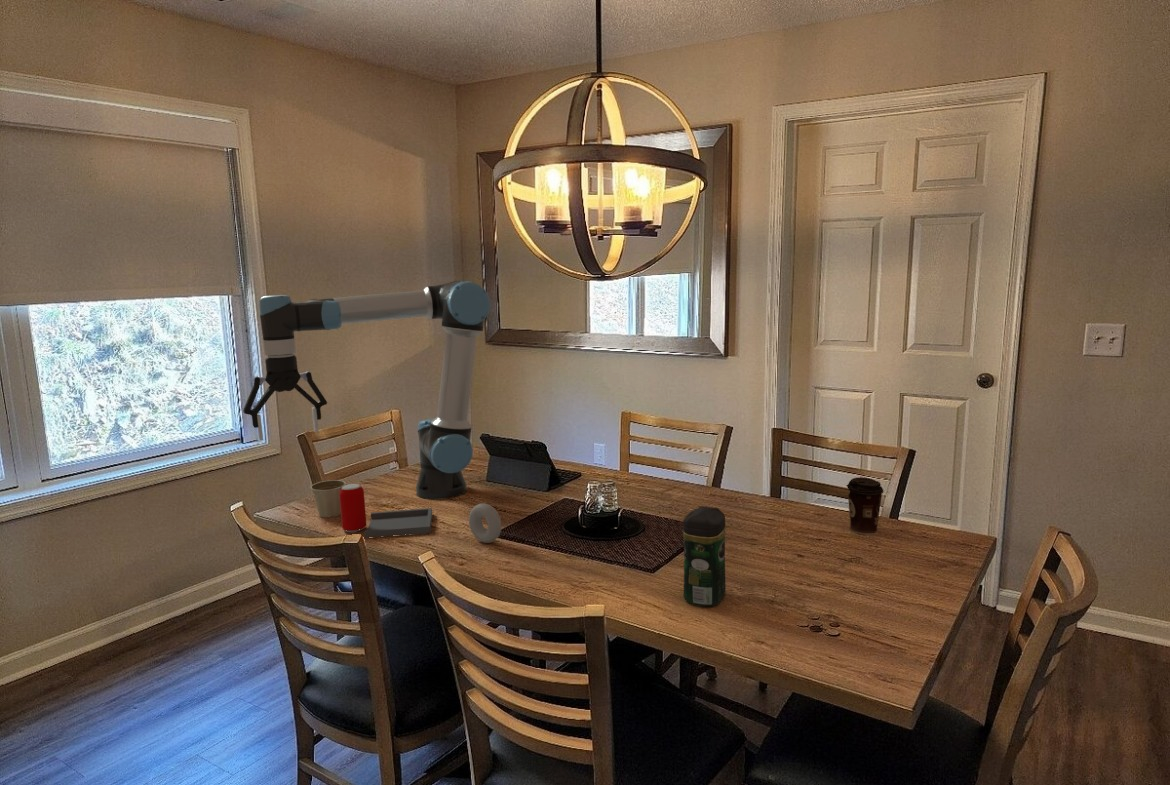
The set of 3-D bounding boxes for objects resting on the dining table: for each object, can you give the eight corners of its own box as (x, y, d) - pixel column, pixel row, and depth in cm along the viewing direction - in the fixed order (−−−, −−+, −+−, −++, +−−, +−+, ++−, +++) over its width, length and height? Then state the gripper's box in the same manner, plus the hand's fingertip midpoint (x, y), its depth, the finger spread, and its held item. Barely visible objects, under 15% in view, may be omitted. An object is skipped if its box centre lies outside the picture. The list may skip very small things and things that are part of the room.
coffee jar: (692, 584, 154) (692, 501, 151) (729, 591, 151) (730, 505, 148) (678, 604, 146) (677, 516, 142) (716, 611, 142) (717, 521, 139)
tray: (432, 514, 203) (432, 507, 202) (430, 533, 188) (429, 526, 188) (371, 519, 200) (371, 512, 200) (364, 538, 186) (364, 531, 185)
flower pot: (341, 519, 200) (338, 489, 199) (307, 520, 201) (305, 490, 199) (352, 508, 210) (350, 479, 208) (320, 509, 210) (318, 480, 208)
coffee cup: (842, 533, 181) (844, 483, 179) (847, 522, 188) (849, 474, 186) (879, 538, 177) (882, 487, 175) (883, 527, 184) (885, 478, 182)
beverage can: (337, 533, 190) (334, 489, 188) (350, 524, 196) (347, 482, 194) (358, 534, 189) (355, 490, 187) (371, 526, 195) (367, 483, 192)
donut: (505, 544, 180) (503, 505, 178) (495, 548, 177) (493, 509, 175) (476, 536, 186) (474, 498, 184) (466, 540, 183) (464, 502, 181)
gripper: (328, 350, 196) (335, 426, 200) (226, 358, 184) (235, 439, 188) (333, 352, 190) (340, 431, 193) (228, 361, 178) (238, 445, 181)
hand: (289, 435), depth 191 cm, fingers open, 13 cm apart
